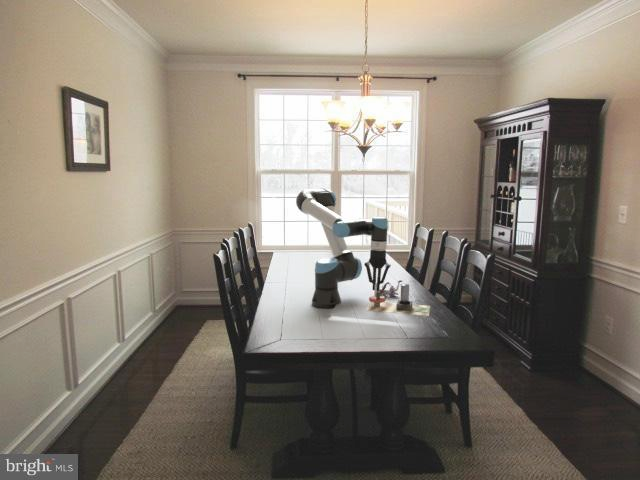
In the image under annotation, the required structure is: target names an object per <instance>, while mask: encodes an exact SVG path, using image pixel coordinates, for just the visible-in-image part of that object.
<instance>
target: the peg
mask: <svg viewBox="0 0 640 480" xmlns="http://www.w3.org/2000/svg"><path fill="white" fill-rule="evenodd" d="M400 300H401V301H400V304H408V305H409V301H410V284H408V283H401V284H400Z"/></svg>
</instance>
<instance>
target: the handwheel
mask: <svg viewBox="0 0 640 480" xmlns="http://www.w3.org/2000/svg"><path fill="white" fill-rule="evenodd" d="M368 301H369V303H370V302H374V307H380V303H382V302H386V297H384V296H383V295H382V296H380V292H377V295H376V298H375V297H374V295H371V296H369V297H368Z"/></svg>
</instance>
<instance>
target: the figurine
mask: <svg viewBox="0 0 640 480" xmlns="http://www.w3.org/2000/svg"><path fill="white" fill-rule="evenodd" d="M402 282H403V280H402V279H401V280H398V282H397V286H396V287H394V285H391V283H390V282H388V281H387V282H386V283H384V284H383V285H382V286H381V289H379V291H377V292H380V296H382V297H385V298H387V297H390V298H391V297H396V295H397V296H398V295H399V293H398V291H399V287H400V283H402ZM387 285H389V286H388V287H390V288H389V289H386V288H387Z"/></svg>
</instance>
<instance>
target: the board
mask: <svg viewBox="0 0 640 480" xmlns="http://www.w3.org/2000/svg"><path fill="white" fill-rule="evenodd" d="M400 301H401V299H398V300H397V302H389V301H385V302H382V303H380V307H374V302H370V301H369V303H368V305H367V307H366V308H365V311H368V312H377V313H378V312H380V313H388V314H389V313H391V314H403V315H411V316H426V317H429V315H430V311H431V305H425V304H415V303H414V304H413V300H409V305H408V304H400Z"/></svg>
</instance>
